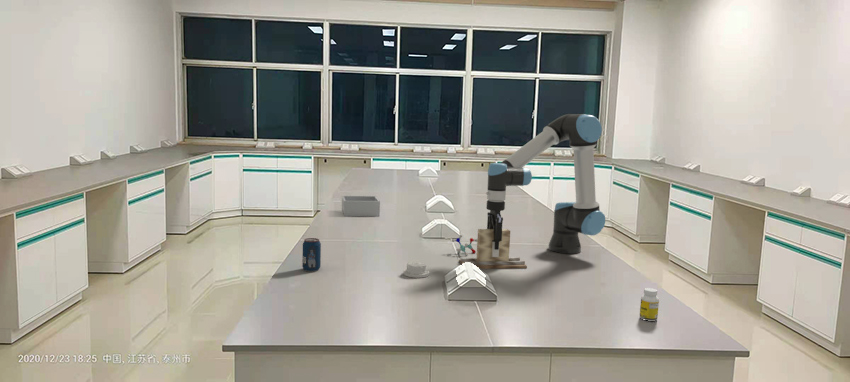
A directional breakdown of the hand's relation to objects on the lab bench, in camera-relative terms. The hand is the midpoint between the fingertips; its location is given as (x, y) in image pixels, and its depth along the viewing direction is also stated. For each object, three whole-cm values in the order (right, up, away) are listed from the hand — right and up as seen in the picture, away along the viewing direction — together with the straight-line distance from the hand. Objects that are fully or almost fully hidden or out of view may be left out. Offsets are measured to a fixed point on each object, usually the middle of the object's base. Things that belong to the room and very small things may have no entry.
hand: (492, 254), depth 258 cm
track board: (0, -4, +1) cm, 4 cm away
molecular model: (-11, -2, +20) cm, 23 cm away
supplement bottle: (+43, -14, -61) cm, 76 cm away
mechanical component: (-32, -6, -19) cm, 38 cm away
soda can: (-73, -4, -18) cm, 75 cm away
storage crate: (-68, +13, +114) cm, 134 cm away
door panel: (0, -3, 0) cm, 3 cm away
